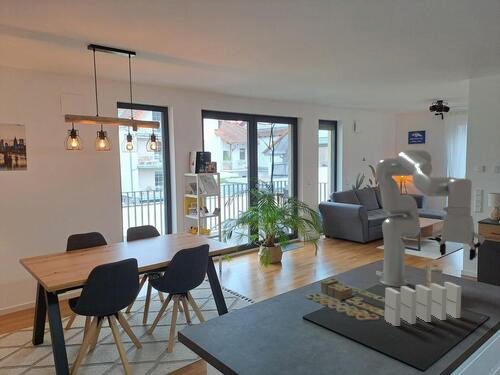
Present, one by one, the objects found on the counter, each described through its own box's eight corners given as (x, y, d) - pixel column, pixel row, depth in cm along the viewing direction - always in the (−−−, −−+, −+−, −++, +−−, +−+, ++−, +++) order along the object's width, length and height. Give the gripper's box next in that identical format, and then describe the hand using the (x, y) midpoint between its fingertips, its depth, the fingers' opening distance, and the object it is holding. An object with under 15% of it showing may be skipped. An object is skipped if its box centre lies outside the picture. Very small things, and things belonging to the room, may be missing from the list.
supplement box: (442, 300, 155) (443, 269, 154) (429, 299, 156) (430, 269, 155) (436, 293, 163) (437, 264, 162) (424, 293, 164) (425, 264, 163)
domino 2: (410, 325, 131) (411, 291, 130) (399, 318, 137) (400, 286, 136) (415, 324, 131) (416, 291, 131) (404, 317, 137) (405, 286, 136)
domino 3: (426, 323, 132) (427, 290, 132) (414, 316, 138) (415, 285, 138) (431, 322, 133) (432, 289, 132) (419, 315, 139) (420, 284, 138)
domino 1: (395, 327, 129) (395, 293, 128) (384, 320, 135) (385, 288, 134) (400, 326, 130) (401, 292, 129) (389, 319, 135) (390, 287, 135)
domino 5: (455, 319, 136) (456, 287, 135) (443, 312, 142) (444, 282, 141) (460, 318, 137) (461, 286, 136) (447, 312, 142) (448, 281, 142)
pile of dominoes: (301, 297, 159) (301, 285, 159) (344, 286, 174) (344, 274, 174) (369, 326, 130) (369, 311, 130) (412, 309, 146) (413, 296, 146)
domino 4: (441, 321, 134) (442, 288, 133) (429, 314, 140) (430, 283, 139) (445, 320, 135) (447, 288, 134) (433, 314, 141) (434, 283, 140)
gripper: (430, 210, 141) (429, 254, 142) (483, 214, 128) (481, 263, 129) (437, 208, 146) (436, 251, 147) (488, 213, 134) (486, 259, 135)
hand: (457, 257), depth 138 cm, fingers open, 9 cm apart
